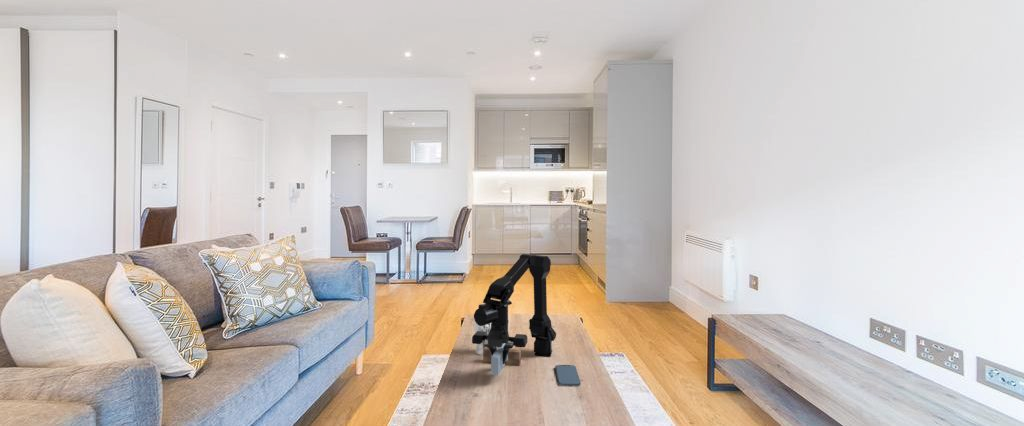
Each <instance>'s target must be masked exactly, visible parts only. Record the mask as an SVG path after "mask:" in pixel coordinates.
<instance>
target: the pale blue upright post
mask: <svg viewBox="0 0 1024 426" xmlns="http://www.w3.org/2000/svg"><path fill="white" fill-rule="evenodd" d="M504 345H505V343H504V344H502V347H500V348H498V347H497V350H496V351H495V353H494V354H493V355H492V357H491V363H490V367H491V368H490V375H491V376H497V377H499V375H500V374H501V373H502V371H503V369H504V367H505V366H506V364H505V363H504V364H503V353H504V348H503V347H504ZM507 360H508V354H507V357H506V360H505V361H507Z"/></svg>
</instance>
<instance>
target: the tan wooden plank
mask: <svg viewBox="0 0 1024 426" xmlns="http://www.w3.org/2000/svg"><path fill="white" fill-rule="evenodd" d="M491 357H492V354H491V351H490V349H489V348H488V347H485V348H484V349H483V355H482V358H483V359H482V361H483V362H482V363H483V364H484V363H485V364H491ZM521 361H522V350H521V349H514V348H511V349H509V352H508V360H507V361H505V366H506V365H507V366H518V367H519V366H521V364H522V362H521Z"/></svg>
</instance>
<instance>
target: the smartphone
mask: <svg viewBox="0 0 1024 426" xmlns="http://www.w3.org/2000/svg"><path fill="white" fill-rule="evenodd" d="M554 370H555V375H556V380H557V385H558V386H560V387H581V386H580V385H581V384H582V383H581V380H580V377H579V373H578V371H577V370H578V369H577V367H576V365H573V364H557V365H555V366H554Z"/></svg>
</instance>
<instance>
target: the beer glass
mask: <svg viewBox="0 0 1024 426" xmlns="http://www.w3.org/2000/svg"><path fill="white" fill-rule="evenodd" d="M473 325H474V326H473V327H474V330H473V331H474V334H475V333H476V332H477V331H483V332H487V335H489V332H490V329H491V323H489V324H486V325H484V326H479V325H478V324H477V323H476V322H475V321H474V324H473ZM475 345H476V347H475V351H474V352H475V354H476V355H480V356H483V349H484V348H485V341H484V340H483V342H482V343H481V344H475Z"/></svg>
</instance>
